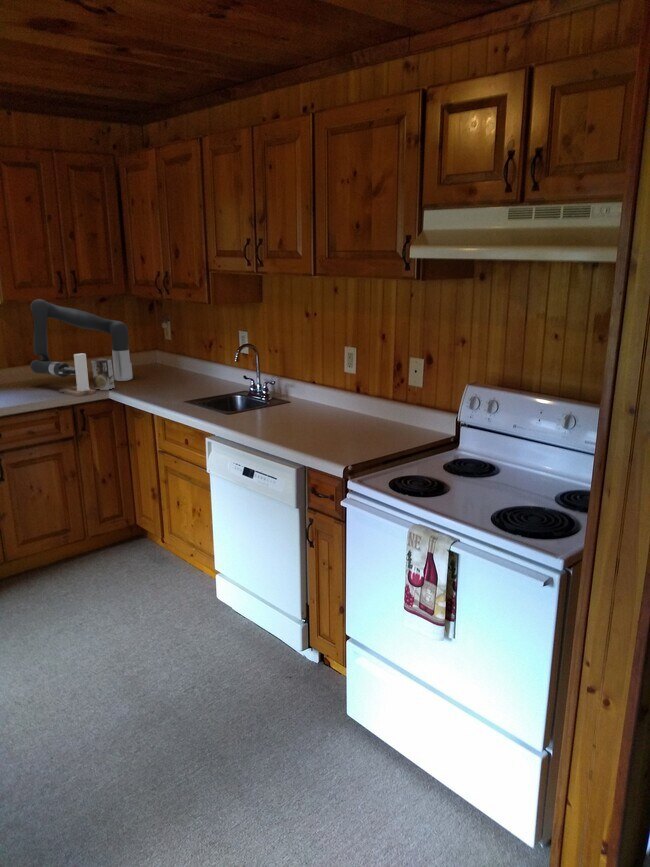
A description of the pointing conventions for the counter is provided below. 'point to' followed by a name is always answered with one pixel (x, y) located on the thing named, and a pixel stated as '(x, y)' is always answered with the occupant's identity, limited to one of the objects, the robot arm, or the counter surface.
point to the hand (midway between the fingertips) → (79, 372)
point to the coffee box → (103, 374)
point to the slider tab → (81, 372)
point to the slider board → (77, 393)
